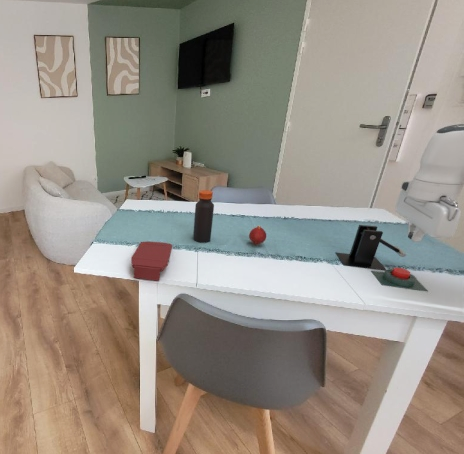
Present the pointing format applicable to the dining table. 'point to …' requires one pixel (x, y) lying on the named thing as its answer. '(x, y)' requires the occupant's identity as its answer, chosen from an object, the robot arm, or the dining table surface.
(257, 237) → the onion
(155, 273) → the red lidded container
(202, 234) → the vinegar
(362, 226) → the switch bracket
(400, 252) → the switch lever
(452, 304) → the dining table surface
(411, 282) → the button panel
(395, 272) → the button
